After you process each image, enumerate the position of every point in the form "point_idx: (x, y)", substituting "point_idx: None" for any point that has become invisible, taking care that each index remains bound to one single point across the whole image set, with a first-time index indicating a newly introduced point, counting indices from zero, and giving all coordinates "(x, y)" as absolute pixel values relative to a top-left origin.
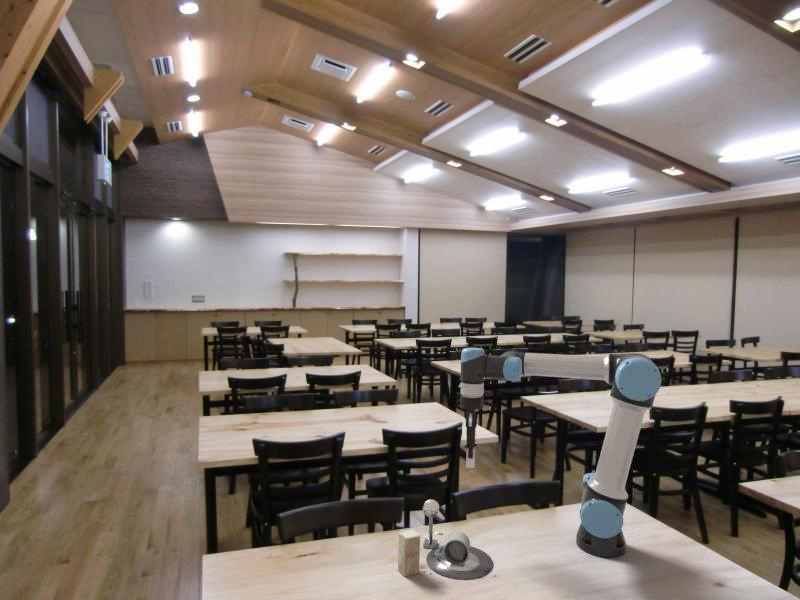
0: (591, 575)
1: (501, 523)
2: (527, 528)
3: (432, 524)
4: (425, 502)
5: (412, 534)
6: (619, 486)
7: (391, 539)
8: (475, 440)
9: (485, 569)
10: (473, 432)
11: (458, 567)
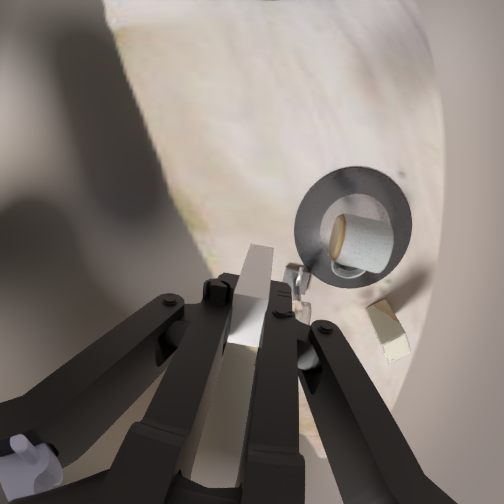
0: (380, 17)
1: (182, 124)
2: (202, 72)
3: (298, 297)
4: None
5: (401, 345)
6: None
7: None
8: (172, 301)
9: (387, 187)
10: (398, 436)
11: None
